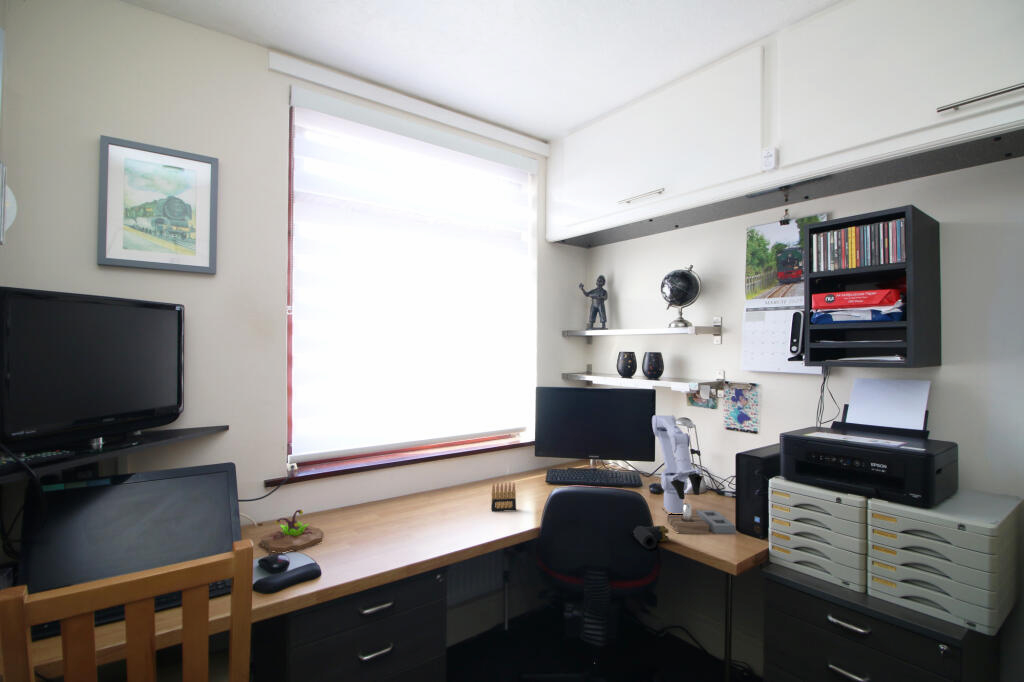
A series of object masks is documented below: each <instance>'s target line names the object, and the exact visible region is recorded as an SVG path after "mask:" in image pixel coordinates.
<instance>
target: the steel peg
mask: <svg viewBox="0 0 1024 682" xmlns="http://www.w3.org/2000/svg"><path fill="white" fill-rule="evenodd" d="M691 515H692V504H691V503H689V502H688V503H686V502H683V522H692V520H691Z"/></svg>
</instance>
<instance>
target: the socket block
mask: <svg viewBox="0 0 1024 682" xmlns="http://www.w3.org/2000/svg"><path fill="white" fill-rule="evenodd" d="M666 517H667V518H666V521H668V522H669V523H670V525H671V526H672V527H673V528H674V529H675V531H676V532H680V533H679V534H707V533H710V529H709V525H708V524H707V523H706V522H704V521H703V520H702V519H701V518H700V517H699V516H698V515H697V514H691V520H692V522H683V515H668V514H667V515H666ZM670 525H669V526H670ZM671 526H670V527H671ZM672 527H671V528H672ZM673 528H672V529H673ZM674 529H673V530H674ZM675 531H674V532H675ZM676 532H675V533H676Z"/></svg>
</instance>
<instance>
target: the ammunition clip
mask: <svg viewBox="0 0 1024 682" xmlns="http://www.w3.org/2000/svg"><path fill="white" fill-rule="evenodd" d="M511 483H512V484H511ZM495 486H496V487H495ZM491 488H492V489H491V507H490V509H491V510H492V511H491V510H490V511H491V512H505V511H504V510H515V511H517V498H516V497H517V495H516V494H517V493H516V484H515V482H514V481H513V482H508V483H507V482H505V483H504V485H503V482H501V483H500V486H499V482H496V484H495V482H493V483H492V487H491Z"/></svg>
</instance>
